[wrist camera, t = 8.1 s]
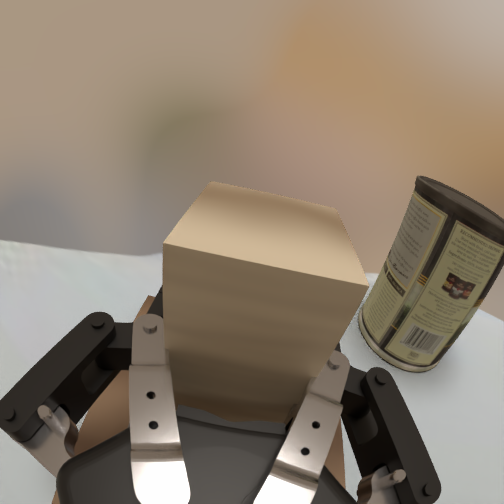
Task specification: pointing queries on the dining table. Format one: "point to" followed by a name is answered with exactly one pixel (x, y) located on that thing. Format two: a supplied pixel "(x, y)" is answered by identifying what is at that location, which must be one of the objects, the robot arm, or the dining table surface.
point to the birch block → (255, 300)
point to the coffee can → (432, 276)
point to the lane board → (117, 419)
